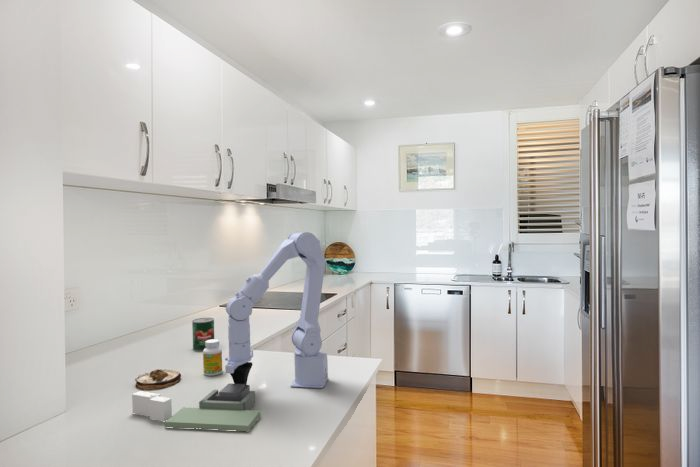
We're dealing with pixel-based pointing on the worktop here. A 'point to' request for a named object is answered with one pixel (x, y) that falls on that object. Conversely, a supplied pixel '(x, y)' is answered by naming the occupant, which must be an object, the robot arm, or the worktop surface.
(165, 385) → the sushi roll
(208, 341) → the supplement bottle
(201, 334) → the canned tomato
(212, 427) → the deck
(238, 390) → the dark grey block
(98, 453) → the worktop surface
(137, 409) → the white stepped block
